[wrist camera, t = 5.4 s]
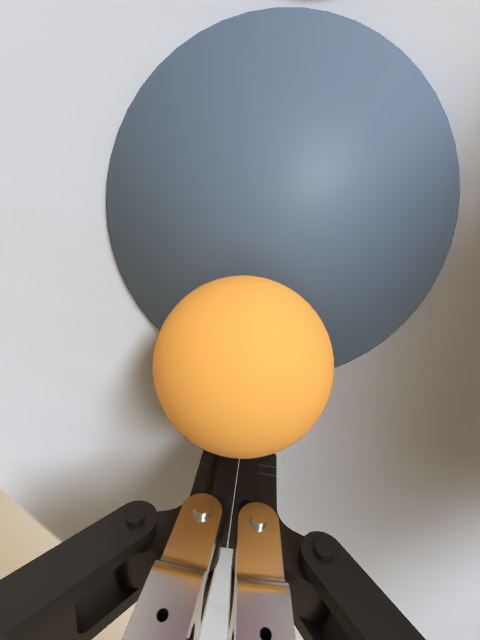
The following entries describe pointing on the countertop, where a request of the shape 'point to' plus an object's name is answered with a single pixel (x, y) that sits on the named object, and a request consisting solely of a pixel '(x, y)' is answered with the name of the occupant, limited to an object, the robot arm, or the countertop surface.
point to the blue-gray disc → (287, 173)
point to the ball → (243, 367)
